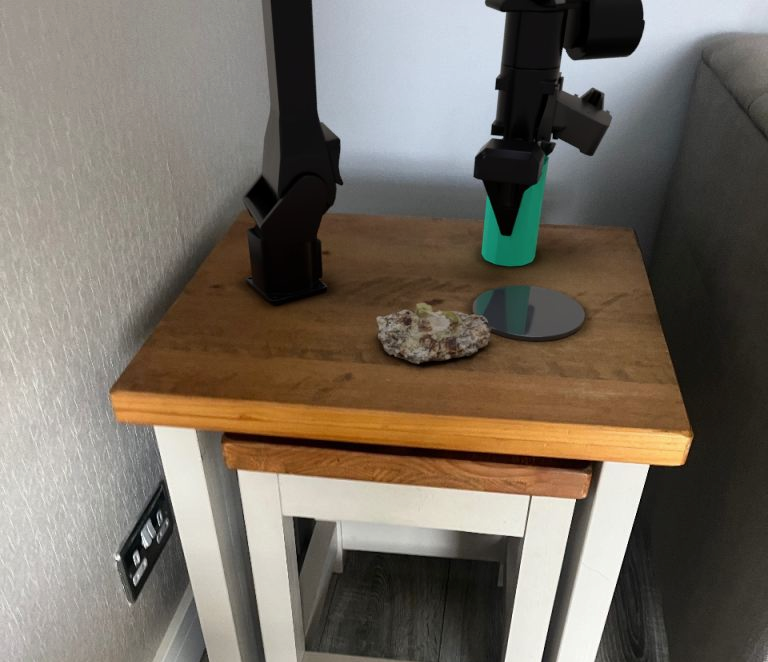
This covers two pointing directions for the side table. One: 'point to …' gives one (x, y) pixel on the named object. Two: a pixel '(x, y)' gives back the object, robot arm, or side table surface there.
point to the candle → (516, 229)
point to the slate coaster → (529, 313)
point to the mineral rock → (432, 334)
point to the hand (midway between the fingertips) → (511, 224)
